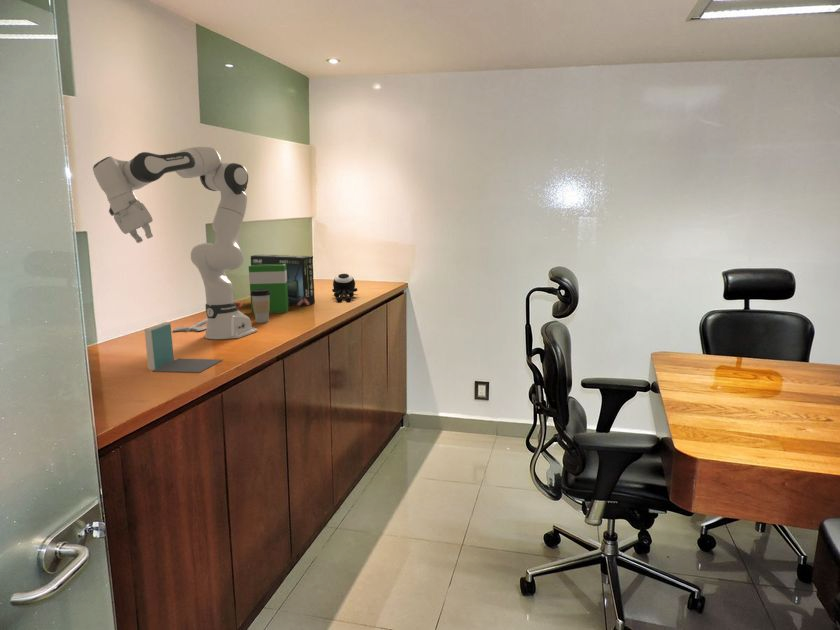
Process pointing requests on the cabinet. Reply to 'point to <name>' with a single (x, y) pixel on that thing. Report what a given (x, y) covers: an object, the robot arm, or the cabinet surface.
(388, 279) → the cabinet surface
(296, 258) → the router box
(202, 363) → the rubber mat
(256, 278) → the green cereal box
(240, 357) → the cabinet surface
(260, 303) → the coffee cup
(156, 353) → the ceramic tile
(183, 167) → the robot arm
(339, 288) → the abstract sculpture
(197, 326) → the driftwood branch
